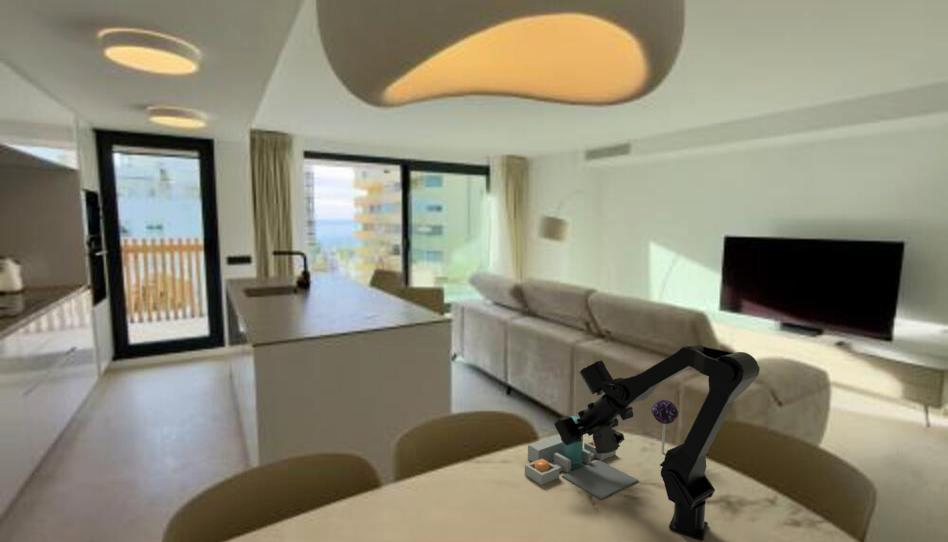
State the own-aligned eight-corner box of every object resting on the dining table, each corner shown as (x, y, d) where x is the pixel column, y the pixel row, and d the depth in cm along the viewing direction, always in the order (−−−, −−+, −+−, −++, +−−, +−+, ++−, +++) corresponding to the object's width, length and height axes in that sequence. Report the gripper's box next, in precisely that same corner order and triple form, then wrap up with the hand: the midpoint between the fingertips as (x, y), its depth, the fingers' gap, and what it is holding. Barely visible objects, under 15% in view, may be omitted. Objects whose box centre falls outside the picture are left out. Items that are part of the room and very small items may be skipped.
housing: (615, 454, 128) (616, 440, 128) (541, 485, 112) (541, 469, 111) (583, 439, 137) (583, 426, 137) (510, 465, 121) (510, 450, 121)
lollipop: (645, 452, 130) (647, 399, 129) (656, 445, 134) (659, 394, 133) (669, 461, 125) (672, 406, 124) (680, 453, 129) (683, 400, 128)
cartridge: (577, 471, 119) (579, 425, 118) (558, 465, 122) (560, 420, 121) (585, 463, 123) (587, 418, 122) (566, 457, 126) (568, 414, 125)
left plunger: (545, 480, 113) (545, 468, 113) (531, 475, 115) (532, 463, 115) (551, 473, 116) (551, 462, 116) (538, 469, 118) (538, 458, 118)
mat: (638, 481, 114) (638, 479, 114) (600, 499, 106) (601, 497, 106) (599, 461, 124) (599, 460, 124) (562, 476, 116) (562, 475, 116)
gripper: (597, 452, 104) (559, 478, 113) (647, 432, 114) (608, 457, 124) (571, 406, 109) (537, 435, 119) (621, 391, 120) (586, 419, 130)
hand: (569, 437), depth 123 cm, fingers closed on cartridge, 5 cm apart
